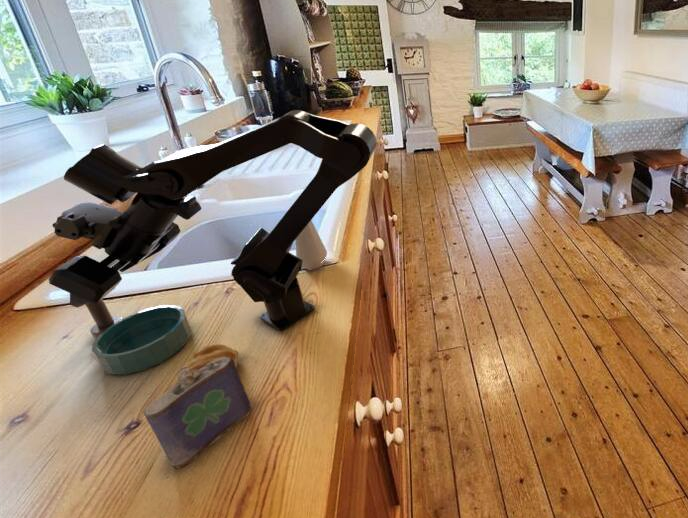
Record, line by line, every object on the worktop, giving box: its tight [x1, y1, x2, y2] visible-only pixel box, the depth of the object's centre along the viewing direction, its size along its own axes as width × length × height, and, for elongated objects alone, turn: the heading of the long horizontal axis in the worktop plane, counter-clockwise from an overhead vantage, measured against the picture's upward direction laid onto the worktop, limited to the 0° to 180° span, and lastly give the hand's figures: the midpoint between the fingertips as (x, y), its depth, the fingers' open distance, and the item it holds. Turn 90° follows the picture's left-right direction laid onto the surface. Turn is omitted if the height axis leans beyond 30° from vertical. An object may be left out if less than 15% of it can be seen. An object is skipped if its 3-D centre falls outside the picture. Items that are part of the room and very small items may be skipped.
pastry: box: [183, 343, 239, 371], centre depth 57 cm, size 9×7×4 cm
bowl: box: [91, 304, 193, 375], centre depth 64 cm, size 11×11×4 cm
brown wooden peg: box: [84, 298, 123, 341], centre depth 67 cm, size 4×4×10 cm
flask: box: [143, 357, 253, 469], centre depth 49 cm, size 9×3×11 cm, turn 151°
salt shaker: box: [295, 219, 328, 271], centre depth 83 cm, size 6×6×13 cm
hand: (98, 286), depth 65 cm, fingers open, 9 cm apart
